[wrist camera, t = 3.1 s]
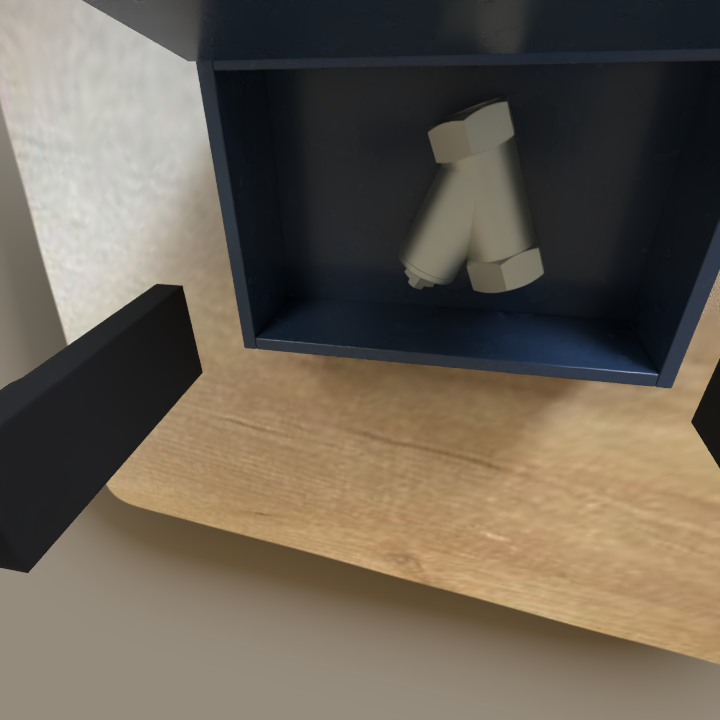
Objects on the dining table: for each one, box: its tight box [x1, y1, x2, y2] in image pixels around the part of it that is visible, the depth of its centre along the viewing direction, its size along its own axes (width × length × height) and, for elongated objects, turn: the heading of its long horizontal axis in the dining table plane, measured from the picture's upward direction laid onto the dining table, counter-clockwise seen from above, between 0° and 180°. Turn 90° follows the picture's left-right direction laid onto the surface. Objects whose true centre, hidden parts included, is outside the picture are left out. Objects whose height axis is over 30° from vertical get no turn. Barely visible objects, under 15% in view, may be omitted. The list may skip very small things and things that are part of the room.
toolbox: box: [196, 49, 720, 388], centre depth 22 cm, size 13×21×6 cm, turn 91°
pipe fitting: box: [398, 95, 544, 293], centre depth 23 cm, size 8×4×7 cm
